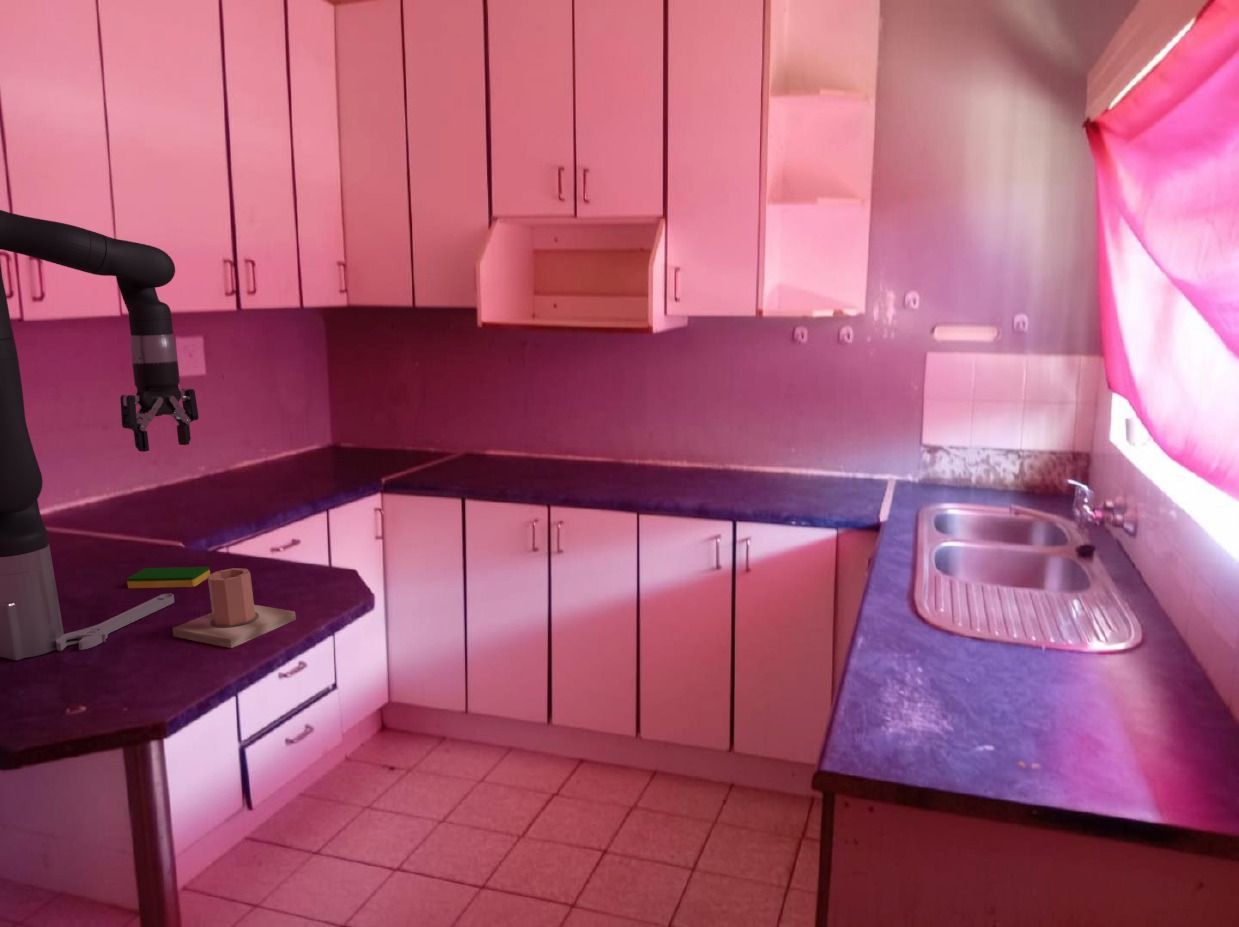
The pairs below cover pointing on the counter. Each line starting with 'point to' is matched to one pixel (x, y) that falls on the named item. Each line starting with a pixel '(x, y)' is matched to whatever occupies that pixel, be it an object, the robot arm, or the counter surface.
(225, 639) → the post stand
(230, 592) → the collar
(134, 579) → the dish sponge
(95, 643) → the adjustable wrench
